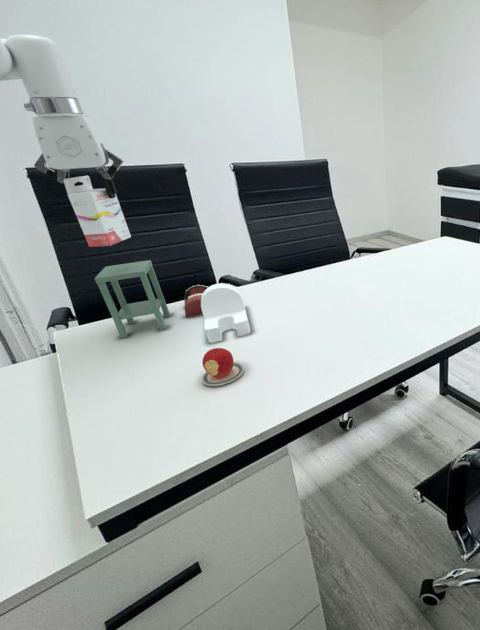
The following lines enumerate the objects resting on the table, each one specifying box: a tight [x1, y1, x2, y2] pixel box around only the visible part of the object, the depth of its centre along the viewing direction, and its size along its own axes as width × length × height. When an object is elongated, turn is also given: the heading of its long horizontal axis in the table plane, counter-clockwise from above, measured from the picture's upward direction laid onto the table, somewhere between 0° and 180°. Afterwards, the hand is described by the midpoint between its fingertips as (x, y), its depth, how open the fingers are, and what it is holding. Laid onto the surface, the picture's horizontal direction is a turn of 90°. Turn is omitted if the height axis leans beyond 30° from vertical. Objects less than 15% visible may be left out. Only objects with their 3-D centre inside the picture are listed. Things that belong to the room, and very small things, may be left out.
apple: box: [201, 347, 245, 387], centre depth 78 cm, size 8×8×6 cm
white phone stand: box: [201, 282, 252, 344], centre depth 99 cm, size 10×18×11 cm, turn 27°
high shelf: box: [94, 259, 171, 339], centre depth 99 cm, size 10×10×16 cm
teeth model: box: [183, 284, 209, 318], centre depth 110 cm, size 8×6×12 cm
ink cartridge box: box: [64, 175, 132, 248], centre depth 88 cm, size 9×5×15 cm, turn 6°
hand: (94, 198), depth 87 cm, fingers closed on ink cartridge box, 6 cm apart
